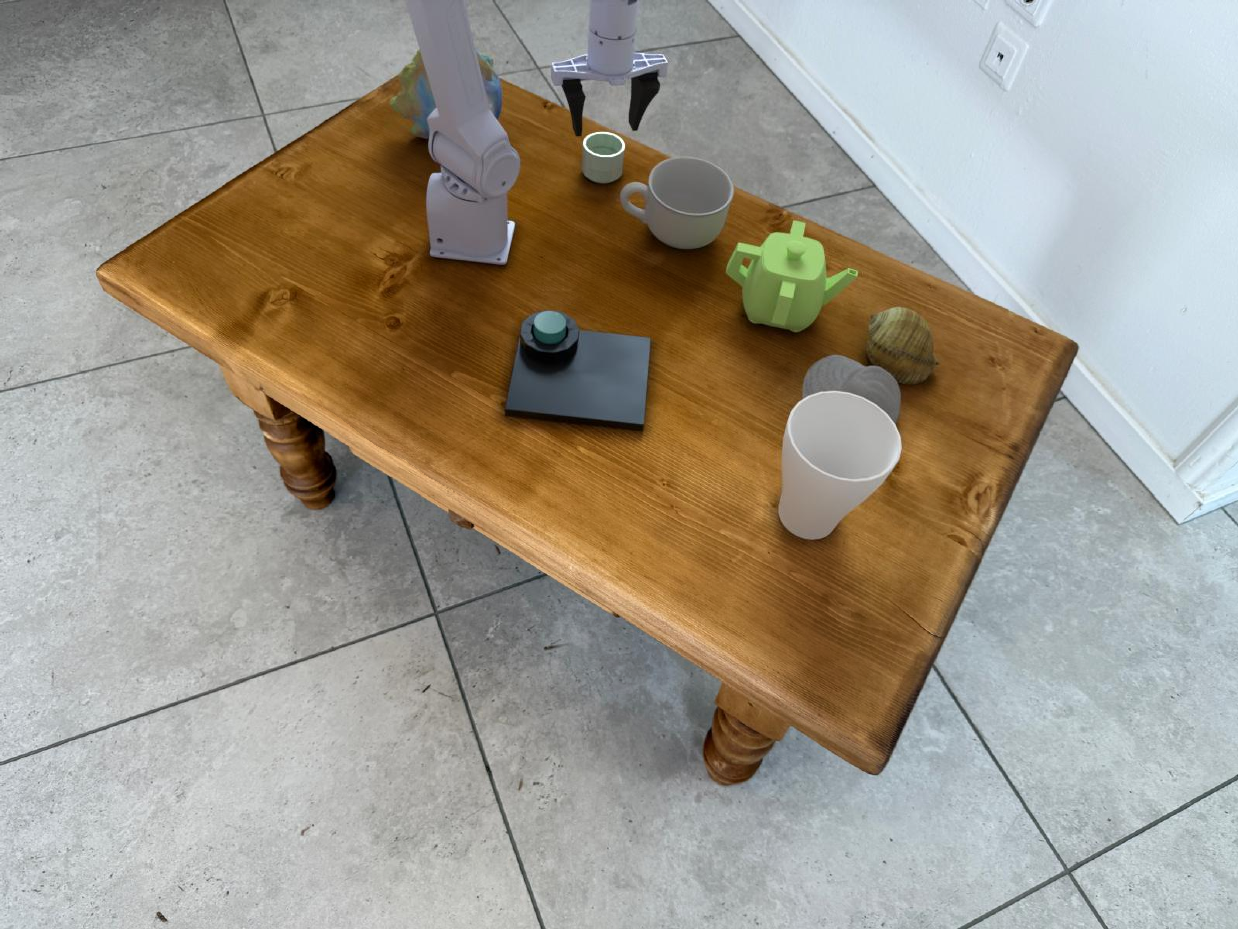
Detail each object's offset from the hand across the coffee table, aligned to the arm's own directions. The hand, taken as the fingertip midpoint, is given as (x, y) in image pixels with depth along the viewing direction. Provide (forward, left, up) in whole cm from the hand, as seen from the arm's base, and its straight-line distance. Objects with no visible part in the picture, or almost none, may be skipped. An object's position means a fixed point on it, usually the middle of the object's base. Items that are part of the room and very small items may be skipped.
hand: (605, 129), depth 116 cm
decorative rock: (-22, +5, -7) cm, 24 cm away
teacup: (+10, -11, -7) cm, 16 cm away
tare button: (-3, -34, -4) cm, 34 cm away
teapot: (+24, -23, -7) cm, 34 cm away
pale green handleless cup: (0, 0, -7) cm, 7 cm away
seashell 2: (+38, -29, -7) cm, 48 cm away
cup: (+26, -53, -7) cm, 59 cm away
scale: (+1, -38, -7) cm, 39 cm away
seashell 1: (+31, -39, -7) cm, 50 cm away
